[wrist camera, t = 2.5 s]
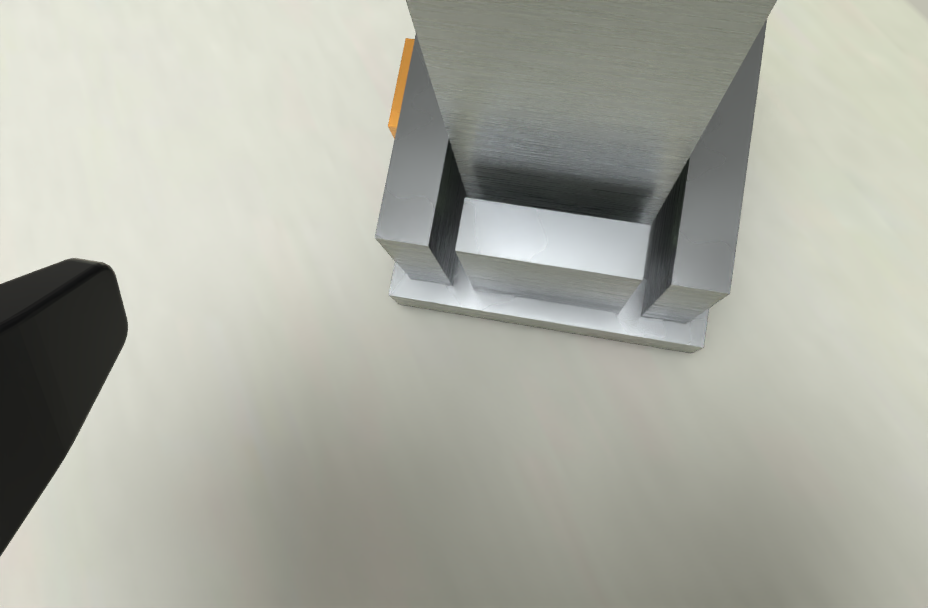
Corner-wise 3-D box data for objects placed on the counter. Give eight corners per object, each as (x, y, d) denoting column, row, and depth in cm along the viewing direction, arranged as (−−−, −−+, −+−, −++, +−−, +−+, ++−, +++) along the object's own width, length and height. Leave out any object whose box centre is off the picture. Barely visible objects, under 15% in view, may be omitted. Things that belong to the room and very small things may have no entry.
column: (635, 258, 20) (782, 4, 8) (475, 233, 20) (387, -41, 8) (659, 105, 20) (829, -349, 8) (503, 85, 21) (456, -370, 9)
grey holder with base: (691, 353, 21) (753, 324, 15) (399, 304, 22) (346, 257, 16) (731, 71, 22) (803, -63, 16) (450, 35, 23) (419, -102, 17)
